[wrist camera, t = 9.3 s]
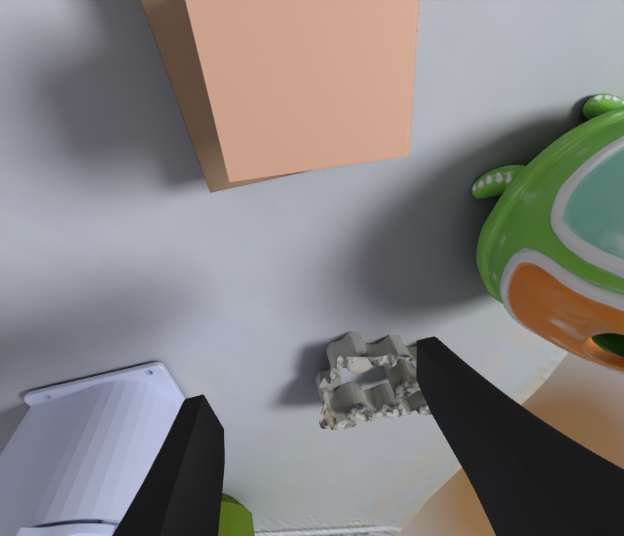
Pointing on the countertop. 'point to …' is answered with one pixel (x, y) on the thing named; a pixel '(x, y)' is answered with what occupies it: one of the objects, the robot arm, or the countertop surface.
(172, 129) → the countertop surface
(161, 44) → the walnut block
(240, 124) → the terracotta block
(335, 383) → the egg carton
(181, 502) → the robot arm
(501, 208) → the turtle holder
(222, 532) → the apple
